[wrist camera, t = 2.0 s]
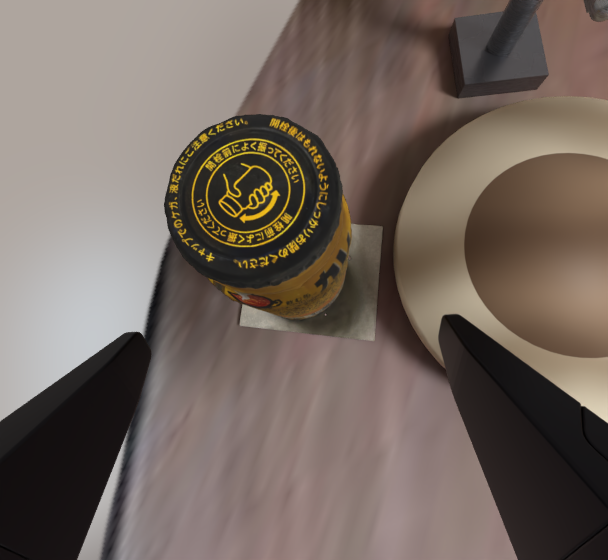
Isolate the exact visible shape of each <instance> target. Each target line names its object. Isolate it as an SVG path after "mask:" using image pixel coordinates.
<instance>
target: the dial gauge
mask: <svg viewBox="0 0 608 560" xmlns="http://www.w3.org/2000/svg"><path fill="white" fill-rule="evenodd" d="M542 2H543V0H510V1H509V3H508V4H507V6H506V8H505V10H504V12H496V13H489V14H481V15H474V16H467V17H459V18H455V19H454V22H453V25H452V27H451V30H450V32H449V41H450V48H451V55H452V61H453V68H454V75H455V82H456V89H457V95H458V98H464V97H473V96H482V95H491V94H500V93H509V92H517V91H526V90H535V89H537V88H538V87H539V86H540V85H541V84H542V82H543V81H544V80H545V79H546V77H547V76H548V75H549V74H548V69H547V64H546V59H545V54H544V49H543V44H542V39H541V34H540V29H539V25H538V20H537V15H536V11H537V10H538V8H539V7H540V5H541V3H542ZM584 4H585V8H586V12H587V13H589V14H590V17H591V19H592V20H593V21H596V22H602V21H605V20H608V0H584Z"/></svg>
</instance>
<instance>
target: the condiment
mask: <svg viewBox="0 0 608 560" xmlns="http://www.w3.org/2000/svg"><path fill="white" fill-rule="evenodd" d="M164 207H165V214H166V217H167V224H168V229H169V231H170V234H171V236H172V238H173V240H174V242H175V244H176V246H177V248H178V250H179V251H180V253H181V254H182V256H183V258H184V259H185V260H186V261H187V262H188V263H189V264H190V265H192V266H193V267H194V268H195V269H196V270H197V271H198V272H199V273H201V274H202V275H204V276H206V277H207V278H208V279H209V280H210V281H211V282H212V284H213V285H214V286H216V287H217V289H218V290H220V291H221V292H222V293H224V294H225V295H226V296H228V297H229V298H230V299H231V300H233V301H237V302H239V303H241V304H242V311H241V318H240V326H246V327H255V328H264V329H273V330H281V331H290V332H299V333H306V334H316V335H325V336H333V337H341V338H351V339H360V340H369V341H375V325H376V311H377V296H378V283H379V270H380V258H381V243H382V231H383V226H373V225H357V224H351V219H350V212H349V209H348V205H347V203H346V199H345V197H344V195H343V190H342V183H341V181H340V175H339V171H338V168H337V167H336V163H335V162H334V160H333V158H332V156H331V155H330V153H329V152H328V150H327V149H326V147H325V145H324V143H323V142H322V140H321V139H320V138H319V137H318V136H317V135H315V134H313V133H312V132H310V131H308V130H306V129H305V128H303V127H302V126H300V125H298V124H296V123H294V122H292V121H291V120H289V119H288V118H284V117H278V116H274V115H262V114H256V115H243V116H235V117H232V118H230V119H228V120H226V121H224V122H221V123H219V124H216V125H213V126H211V127H208V128H207V129H205V130H204V131H202V132H201V133H200V134H199V135H198V136H197V137H196V138H195V139H194V140H193V141H192V142H191V143H190V144H189V145H188V146H187V147H186V148H185V150H184V151H183V152H182V154H181V155H180V157H179V158H178V160H177V161H176V163H175V165H174V167H173V170H172V173H171V175H170V181H169V185H168V189H167V192H166V196H165V203H164ZM348 255H349V256H350V257H351V259H350V260H349V259H348ZM325 314H327V315H326V316H325Z"/></svg>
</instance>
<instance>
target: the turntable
mask: <svg viewBox="0 0 608 560" xmlns="http://www.w3.org/2000/svg"><path fill="white" fill-rule="evenodd" d="M393 257H394V272H395V278H396V284H397V288H398V292H399V295H400V298H401V301H402V305H403V307H404V310H405V312H406V314H407V316H408V318H409V321H410V323H411V325H412V327H413V328H414V330H415V331H416V333H417V335H418V336H419V338H420V340H421V341H422V343H423V344H424V345H425V347H426V348H427V349H428V350H429V352H430V353H431V354H432V355H433V357H434V358H435V359H436V360H437V361H438V362H439V363H440V364H441V365H442V366H443V367H444V368H445V364H444V361H443V357H442V353H441V349H440V346H439V341H438V334H439V329H440V324H441V319H442V316H443V315H445V314H459V315H461V316H462V317H464V318H465V319H466V320H468V321H469V322H471V323H472V324H473V325H475V326H476V327H477V328H479V329H480V330H481V331H483V332H484V333H486V334H487V335H488V336H490V337H491V338H492V339H494V340H495V341H496V342H498V343H499V344H501V345H502V346H503V347H505V348H506V349H507V350H509V351H510V352H511V353H513V354H514V355H516V356H517V357H518V358H520V359H521V360H522V361H524V362H525V363H526V364H528V365H529V366H531V367H532V368H533V369H535V370H536V371H537V372H539V373H540V374H541V375H543V376H544V377H546V378H547V379H548V380H550V381H551V382H552V383H554V384H555V385H556V386H558V387H559V388H561V389H562V390H563V391H565V392H566V393H567V394H569V395H570V396H571V397H573V398H574V399H576V400H577V401H578V402H580V403H581V406H585V407H587V408H588V409H589V410H591V411H592V412H593V413H595V414H596V415H598V416H599V417H600V418H602V419H603V420H604V421H606V422H607V423H608V100H603V99H597V98H590V97H573V96H560V97H543V98H537V99H531V100H525V101H521V102H517V103H514V104H510V105H507V106H503V107H501V108H498V109H496V110H493V111H491V112H489V113H486V114H484V115H482V116H480V117H478V118H476V119H475V120H473V121H471V122H469V123H468V124H466V125H464V126H463V127H462V128H460V129H459V130H458V131H456V132H455V133H454V134H452V135H451V136H450V137H448V138H447V139H446V140H445V141H444V142H443V143H442V144H441V145H440V146H439V147H438V148H437V149H436V150H435V151H434V152H433V154H432V155H431V156H430V158H429V159H428V160H427V161H426V163H425V164H424V165H423V166H422V168H421V170H420V172H419V173H418V175H417V177H416V178H415V180H414V182H413V184H412V186H411V187H410V189H409V191H408V193H407V195H406V198H405V200H404V203H403V205H402V208H401V210H400V213H399V217H398V221H397V225H396V229H395V237H394V246H393ZM445 369H446V368H445Z"/></svg>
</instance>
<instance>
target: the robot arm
mask: <svg viewBox="0 0 608 560" xmlns="http://www.w3.org/2000/svg"><path fill="white" fill-rule="evenodd" d="M438 341H439V346H440V349H441V353H442V357H443V361H444V364H445V368H446V372H447V376H448V380H449V383H450V387H451V390H452V393H453V396H454V399H455V402H456V404H457V407H458V409H459V412H460V414H461V417H462V419H463V422H464V424H465V427H466V429H467V432H468V434H469V437H470V440H471V442H472V445H473V447H474V450H475V452H476V455H477V457H478V460H479V462H480V465H481V467H482V470H483V472H484V475H485V477H486V480H487V483H488V485H489V488H490V490H491V493H492V495H493V498H494V500H495V503H496V505H497V508H498V510H499V513H500V515H501V518H502V521H503V523H504V526H505V528H506V531H507V533H508V536H509V538H510V541H511V543H512V546H513V548H514V551H515V553H516V556H517V559H518V560H608V423H607V422H606V421H604V420H603V419H602V418H600V417H599V416H598V415H596V414H595V413H593V412H592V411H591V410H589V409H588V408H587V407H585V406H581V403H580V402H578V401H577V400H576V399H574V398H573V397H571V396H570V395H569V394H567V393H566V392H565V391H563V390H562V389H561V388H559V387H558V386H556V385H555V384H554V383H552V382H551V381H550V380H548V379H547V378H546V377H544V376H543V375H541V374H540V373H539V372H537V371H536V370H535V369H533V368H532V367H531V366H529V365H528V364H526V363H525V362H524V361H522V360H521V359H520V358H518V357H517V356H516V355H514V354H513V353H511V352H510V351H509V350H507V349H506V348H505V347H503V346H502V345H501V344H499V343H498V342H496V341H495V340H494V339H492V338H491V337H490V336H488V335H487V334H486V333H484V332H483V331H481V330H480V329H479V328H477V327H476V326H475V325H473V324H472V323H471V322H469V321H468V320H466V319H465V318H464V317H462V316H461V315H459V314H445V315H443V316H442V319H441V324H440V329H439V334H438ZM150 360H151V349H150V347H149V346H148V344H147V342H146V340H145V339H144V337H143V335H142V334H141V333H140V332H128V333H124V334H123V335H121V336H120V337H119V338H117V339H116V340H114V341H113V342H112V343H110V344H109V345H107V346H106V347H104V348H103V349H102V350H100V351H99V352H98V353H96V354H95V355H93V356H92V357H90V358H89V359H88V360H86V361H85V362H83V363H82V364H81V365H79V366H78V367H76V368H75V369H73V370H72V371H71V372H70V373H68V374H67V375H65V376H64V377H62V378H61V379H59V380H58V381H57V382H55V383H54V384H52V385H51V386H49V387H48V388H47V389H45V390H44V391H42V392H41V393H40V394H38V395H37V396H35V397H34V398H33V399H31V400H30V401H28V402H27V403H26V404H24V405H23V406H21V407H20V408H18V409H17V410H16V411H14V412H13V413H11V414H10V415H9V416H7V417H6V418H5V419H3V420H2V421H1V422H0V560H77V558H78V556H79V553H80V551H81V548H82V546H83V543H84V540H85V538H86V535H87V533H88V530H89V528H90V525H91V523H92V520H93V517H94V515H95V512H96V510H97V507H98V505H99V502H100V500H101V497H102V495H103V492H104V489H105V487H106V484H107V482H108V479H109V477H110V474H111V472H112V469H113V467H114V464H115V461H116V459H117V456H118V453H119V451H120V449H121V446H122V444H123V441H124V438H125V436H126V433H127V431H128V428H129V426H130V423H131V421H132V418H133V416H134V413H135V410H136V408H137V405H138V402H139V399H140V396H141V392H142V388H143V385H144V381H145V378H146V374H147V370H148V367H149V363H150Z"/></svg>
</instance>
